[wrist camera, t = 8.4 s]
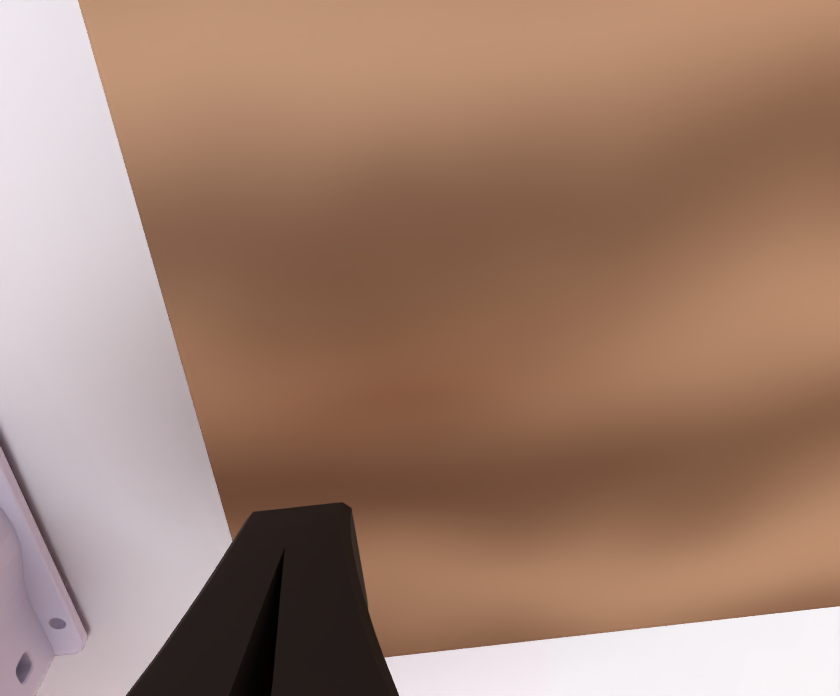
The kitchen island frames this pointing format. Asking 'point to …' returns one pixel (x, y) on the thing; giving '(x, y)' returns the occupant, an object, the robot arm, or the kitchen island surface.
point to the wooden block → (507, 292)
